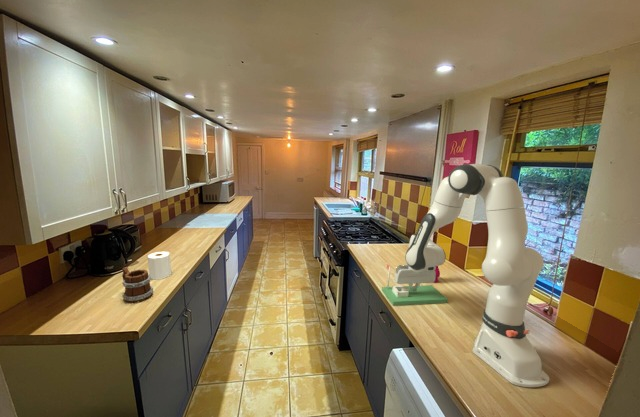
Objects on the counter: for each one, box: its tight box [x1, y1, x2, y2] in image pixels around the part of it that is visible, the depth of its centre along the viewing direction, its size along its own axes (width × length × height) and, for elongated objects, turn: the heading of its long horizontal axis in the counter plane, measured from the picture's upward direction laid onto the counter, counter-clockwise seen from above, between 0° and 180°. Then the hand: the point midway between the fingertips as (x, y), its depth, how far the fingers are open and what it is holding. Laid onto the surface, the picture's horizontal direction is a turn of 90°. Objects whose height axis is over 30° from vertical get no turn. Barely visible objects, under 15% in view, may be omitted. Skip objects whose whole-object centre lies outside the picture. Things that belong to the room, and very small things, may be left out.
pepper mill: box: [433, 266, 441, 284], centre depth 148 cm, size 7×7×20 cm
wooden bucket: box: [121, 267, 154, 304], centre depth 121 cm, size 12×14×15 cm
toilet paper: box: [147, 251, 172, 280], centre depth 142 cm, size 10×10×12 cm
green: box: [381, 263, 449, 306], centre depth 130 cm, size 16×28×14 cm, turn 98°
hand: (413, 290), depth 131 cm, fingers closed
